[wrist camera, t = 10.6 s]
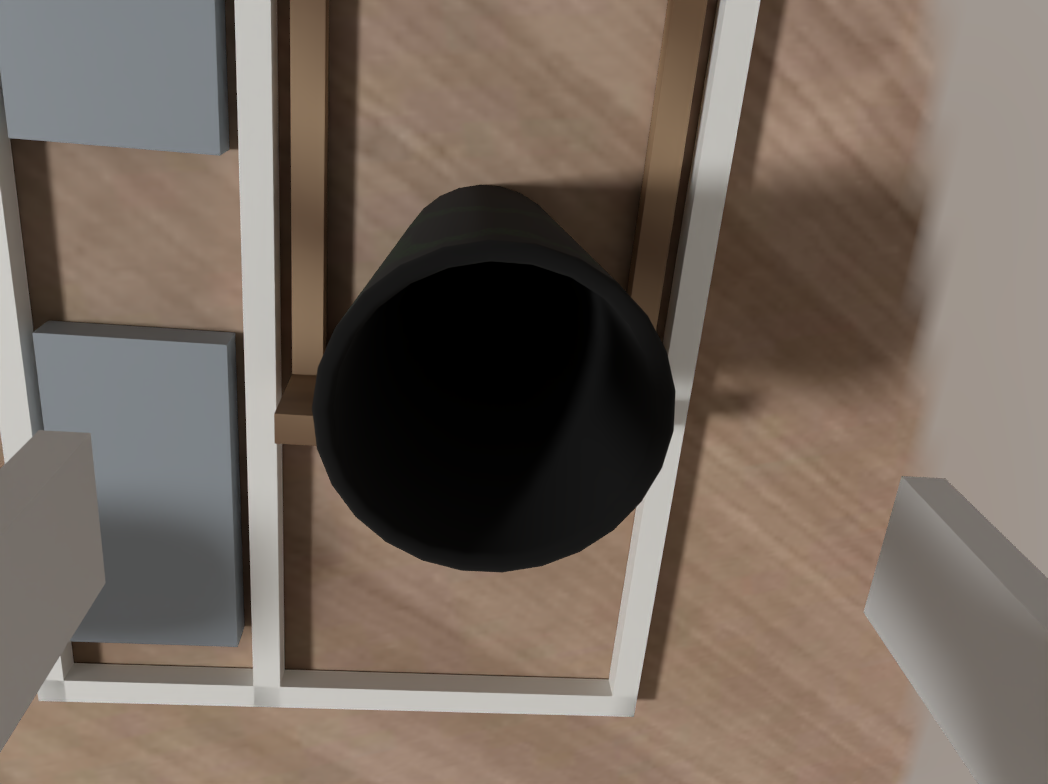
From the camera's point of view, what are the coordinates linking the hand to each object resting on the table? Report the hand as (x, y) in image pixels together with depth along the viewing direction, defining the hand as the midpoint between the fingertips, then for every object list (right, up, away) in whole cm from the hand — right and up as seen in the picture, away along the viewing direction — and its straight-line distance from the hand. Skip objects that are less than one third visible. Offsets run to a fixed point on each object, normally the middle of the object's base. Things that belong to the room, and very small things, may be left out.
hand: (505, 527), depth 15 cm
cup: (-1, +6, +15) cm, 17 cm away
